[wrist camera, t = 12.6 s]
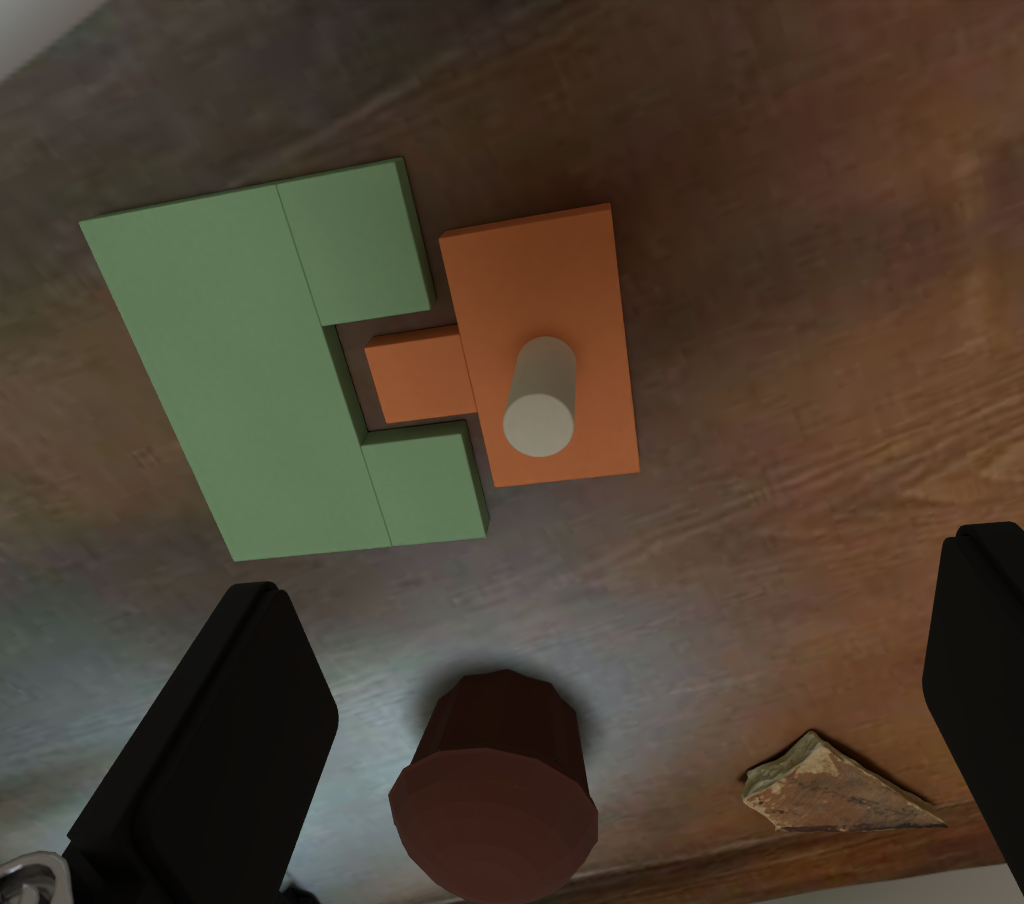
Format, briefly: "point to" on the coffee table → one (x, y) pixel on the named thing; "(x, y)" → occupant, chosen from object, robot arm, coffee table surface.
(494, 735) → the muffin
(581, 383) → the tab pad
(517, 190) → the coffee table surface
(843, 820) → the shard
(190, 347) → the notch pad
